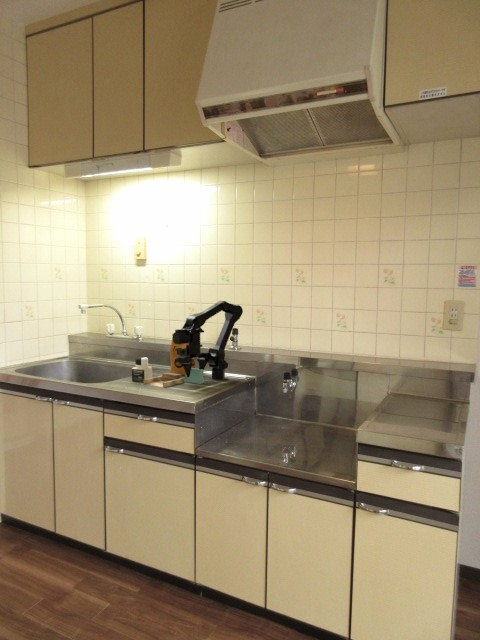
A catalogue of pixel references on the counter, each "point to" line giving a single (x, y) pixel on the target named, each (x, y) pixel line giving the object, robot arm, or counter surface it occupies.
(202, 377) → the teal rectangular block
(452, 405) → the counter surface
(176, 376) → the offcut top
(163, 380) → the offcut low
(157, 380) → the wooden tray
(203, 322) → the robot arm
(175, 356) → the coffee package
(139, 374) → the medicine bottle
